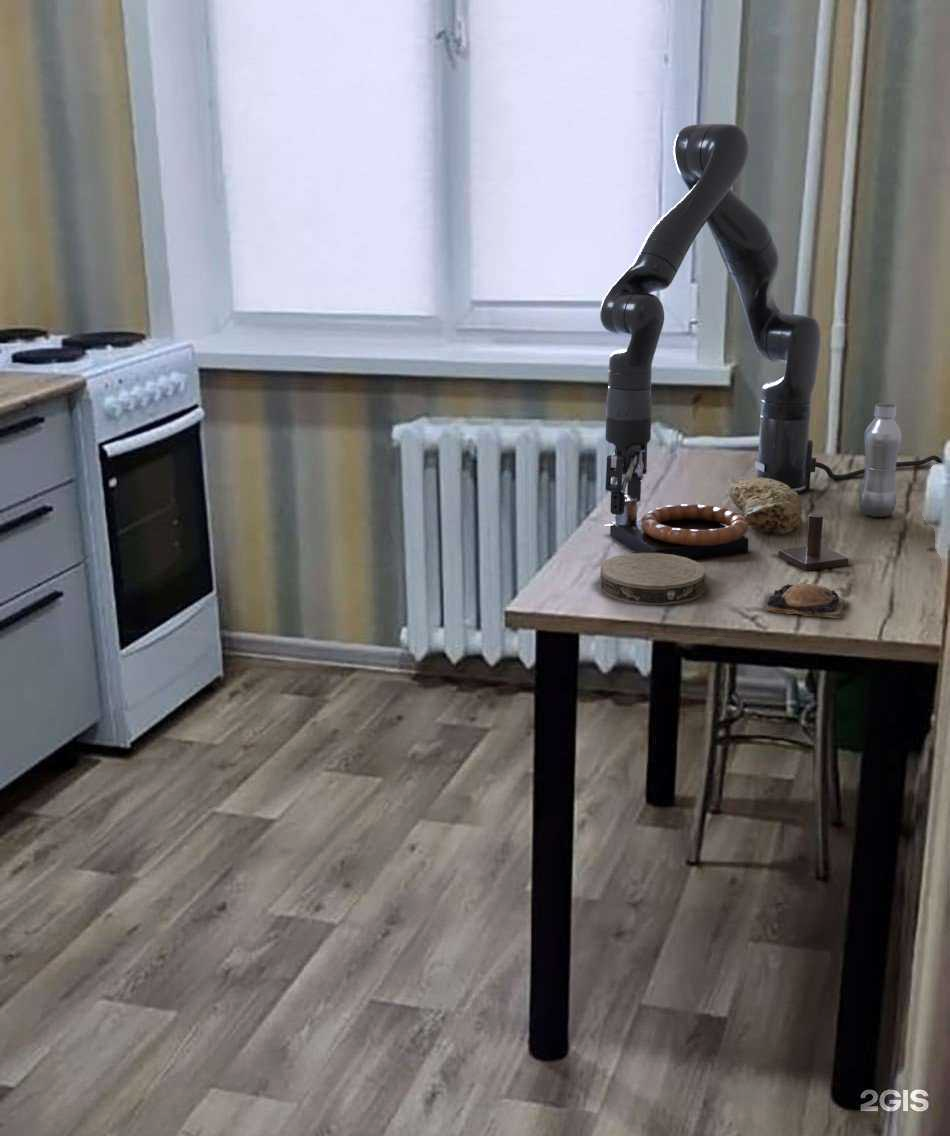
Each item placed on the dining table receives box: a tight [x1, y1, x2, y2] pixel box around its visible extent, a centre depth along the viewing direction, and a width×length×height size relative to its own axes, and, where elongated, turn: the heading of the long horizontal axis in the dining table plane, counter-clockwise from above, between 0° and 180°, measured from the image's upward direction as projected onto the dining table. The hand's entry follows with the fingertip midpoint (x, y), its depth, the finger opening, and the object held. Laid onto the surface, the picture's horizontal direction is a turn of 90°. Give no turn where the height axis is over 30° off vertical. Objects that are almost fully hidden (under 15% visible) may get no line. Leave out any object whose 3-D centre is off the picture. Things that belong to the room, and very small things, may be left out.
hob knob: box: [614, 494, 638, 526], centre depth 232 cm, size 4×4×5 cm
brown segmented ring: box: [641, 503, 749, 546], centre depth 227 cm, size 17×17×3 cm
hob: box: [604, 517, 749, 561], centre depth 230 cm, size 19×19×3 cm
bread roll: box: [765, 582, 846, 619], centre depth 200 cm, size 11×8×4 cm
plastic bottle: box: [858, 402, 903, 518], centre depth 241 cm, size 6×7×20 cm
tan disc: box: [599, 552, 706, 606], centre depth 209 cm, size 16×16×3 cm
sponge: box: [729, 477, 804, 535], centre depth 242 cm, size 13×8×20 cm
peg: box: [777, 512, 850, 572], centre depth 219 cm, size 8×8×8 cm
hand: (625, 507), depth 231 cm, fingers open, 8 cm apart
